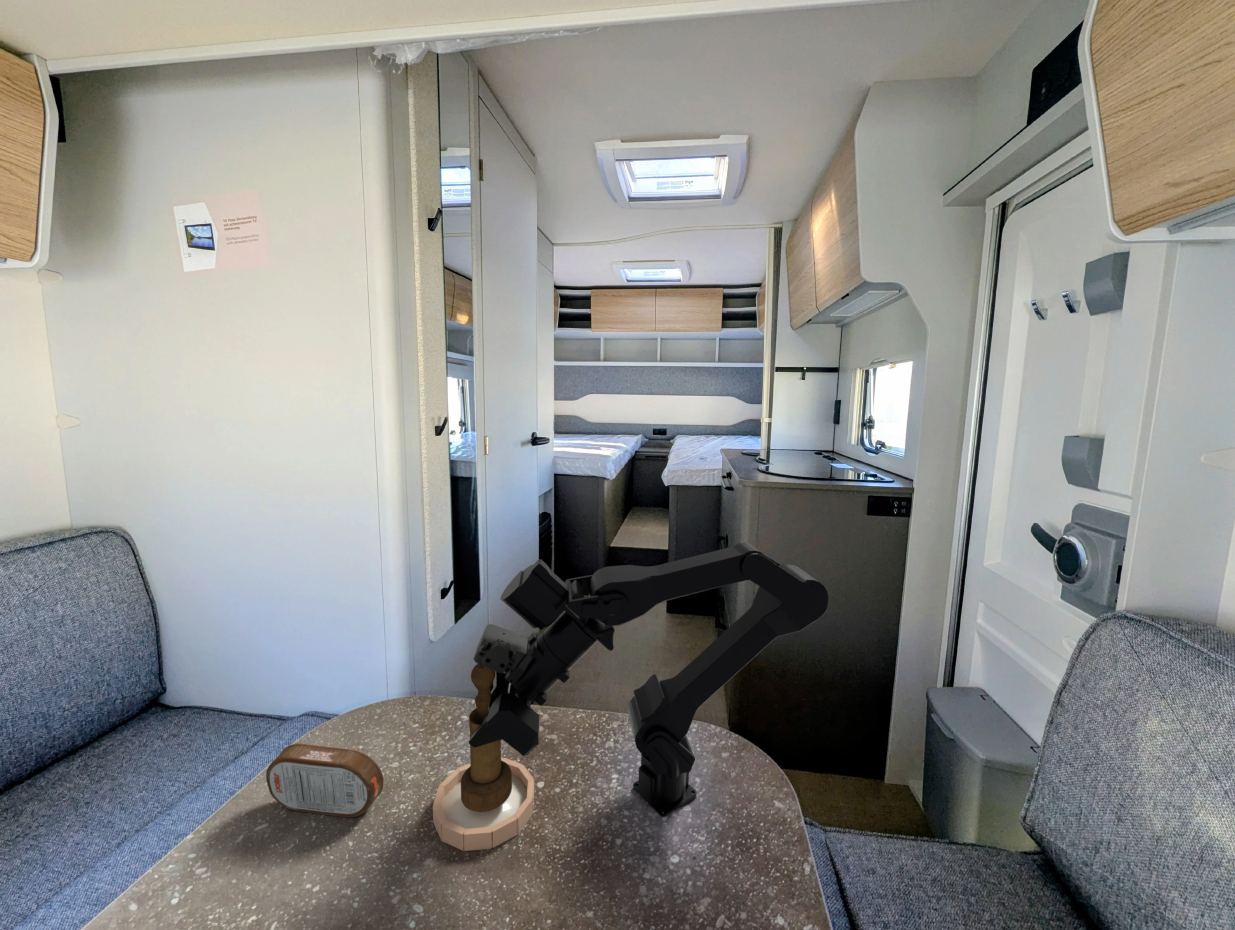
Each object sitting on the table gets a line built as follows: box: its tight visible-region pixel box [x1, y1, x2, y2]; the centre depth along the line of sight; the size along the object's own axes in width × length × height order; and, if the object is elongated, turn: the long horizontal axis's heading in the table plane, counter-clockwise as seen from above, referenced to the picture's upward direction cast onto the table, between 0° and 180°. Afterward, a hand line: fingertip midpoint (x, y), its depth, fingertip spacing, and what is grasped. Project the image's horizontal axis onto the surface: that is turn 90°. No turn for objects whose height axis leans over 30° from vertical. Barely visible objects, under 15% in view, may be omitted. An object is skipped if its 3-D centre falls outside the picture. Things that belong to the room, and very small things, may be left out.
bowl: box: [432, 756, 535, 852], centre depth 66 cm, size 13×13×2 cm
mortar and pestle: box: [461, 663, 512, 812], centre depth 65 cm, size 7×6×18 cm
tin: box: [265, 742, 385, 818], centre depth 65 cm, size 15×3×8 cm, turn 83°
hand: (473, 733), depth 65 cm, fingers closed on mortar and pestle, 4 cm apart
